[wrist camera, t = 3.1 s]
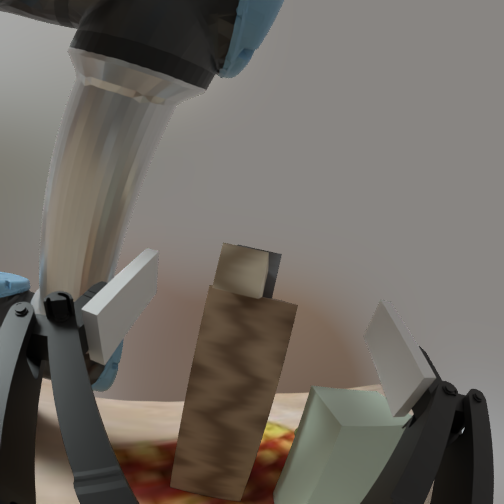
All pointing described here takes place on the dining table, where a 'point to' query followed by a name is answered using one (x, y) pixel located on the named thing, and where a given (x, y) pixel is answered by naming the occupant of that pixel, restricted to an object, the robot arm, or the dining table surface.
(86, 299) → the robot arm
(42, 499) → the dining table surface
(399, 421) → the pale green block
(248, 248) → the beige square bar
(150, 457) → the dining table surface
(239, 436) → the stand tall
